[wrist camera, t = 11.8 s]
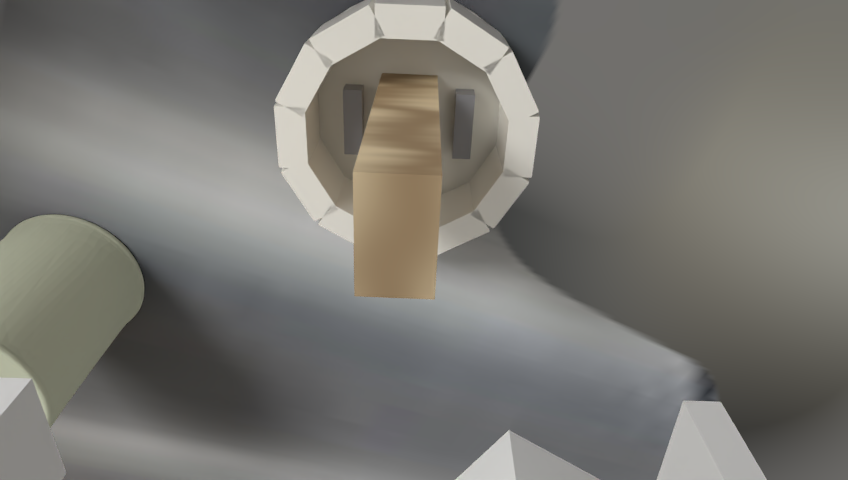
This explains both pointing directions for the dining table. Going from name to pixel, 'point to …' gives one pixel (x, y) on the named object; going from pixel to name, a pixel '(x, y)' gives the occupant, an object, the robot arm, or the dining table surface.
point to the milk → (521, 463)
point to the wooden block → (398, 190)
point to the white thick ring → (458, 110)
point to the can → (62, 303)
